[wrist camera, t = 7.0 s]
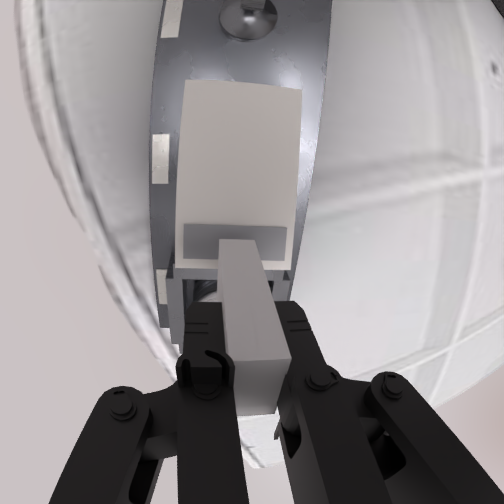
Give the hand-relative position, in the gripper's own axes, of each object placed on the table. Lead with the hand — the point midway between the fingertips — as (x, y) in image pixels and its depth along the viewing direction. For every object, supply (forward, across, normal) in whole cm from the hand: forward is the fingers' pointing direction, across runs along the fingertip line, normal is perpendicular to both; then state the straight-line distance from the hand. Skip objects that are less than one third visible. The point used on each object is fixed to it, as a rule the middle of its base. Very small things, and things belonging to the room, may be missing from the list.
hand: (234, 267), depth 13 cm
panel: (+9, 0, +4) cm, 9 cm away
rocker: (+3, 0, +4) cm, 4 cm away
